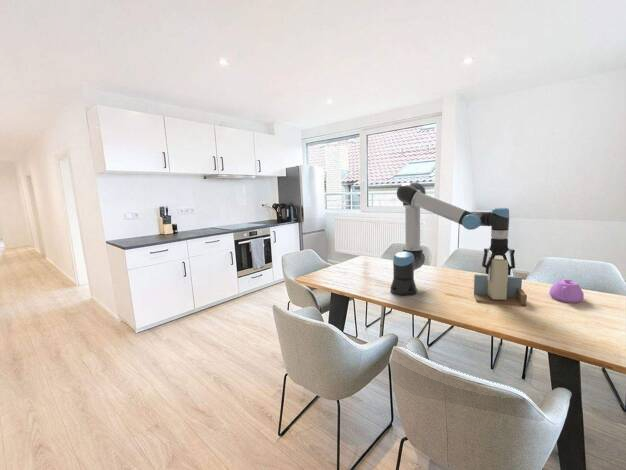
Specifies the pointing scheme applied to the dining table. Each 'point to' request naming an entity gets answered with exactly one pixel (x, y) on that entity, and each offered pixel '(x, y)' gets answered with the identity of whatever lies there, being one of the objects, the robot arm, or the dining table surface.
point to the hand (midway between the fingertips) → (497, 280)
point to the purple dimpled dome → (566, 291)
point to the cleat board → (513, 291)
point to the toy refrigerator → (498, 278)
